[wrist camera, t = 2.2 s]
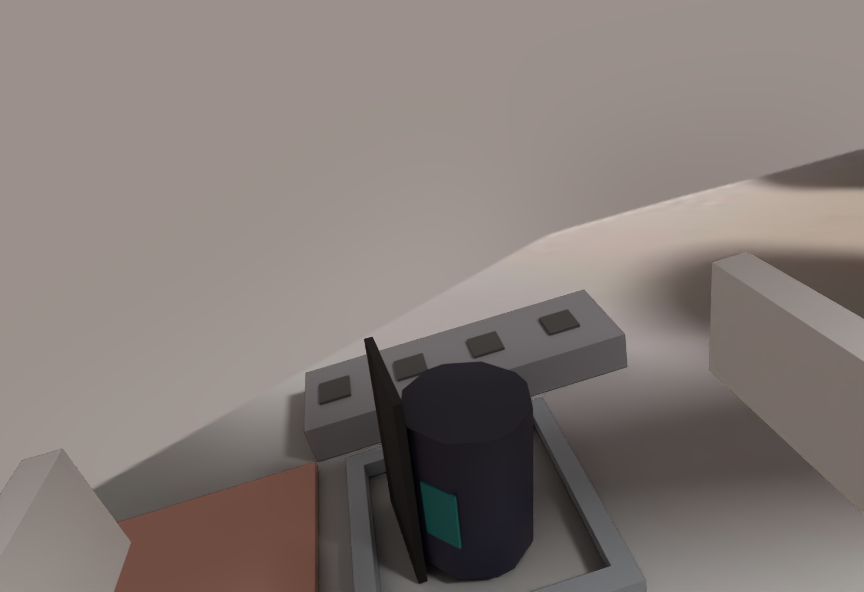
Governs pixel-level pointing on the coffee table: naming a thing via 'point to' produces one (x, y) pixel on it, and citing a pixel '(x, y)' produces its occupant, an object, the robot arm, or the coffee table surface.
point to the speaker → (458, 464)
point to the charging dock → (497, 345)
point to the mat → (229, 540)
